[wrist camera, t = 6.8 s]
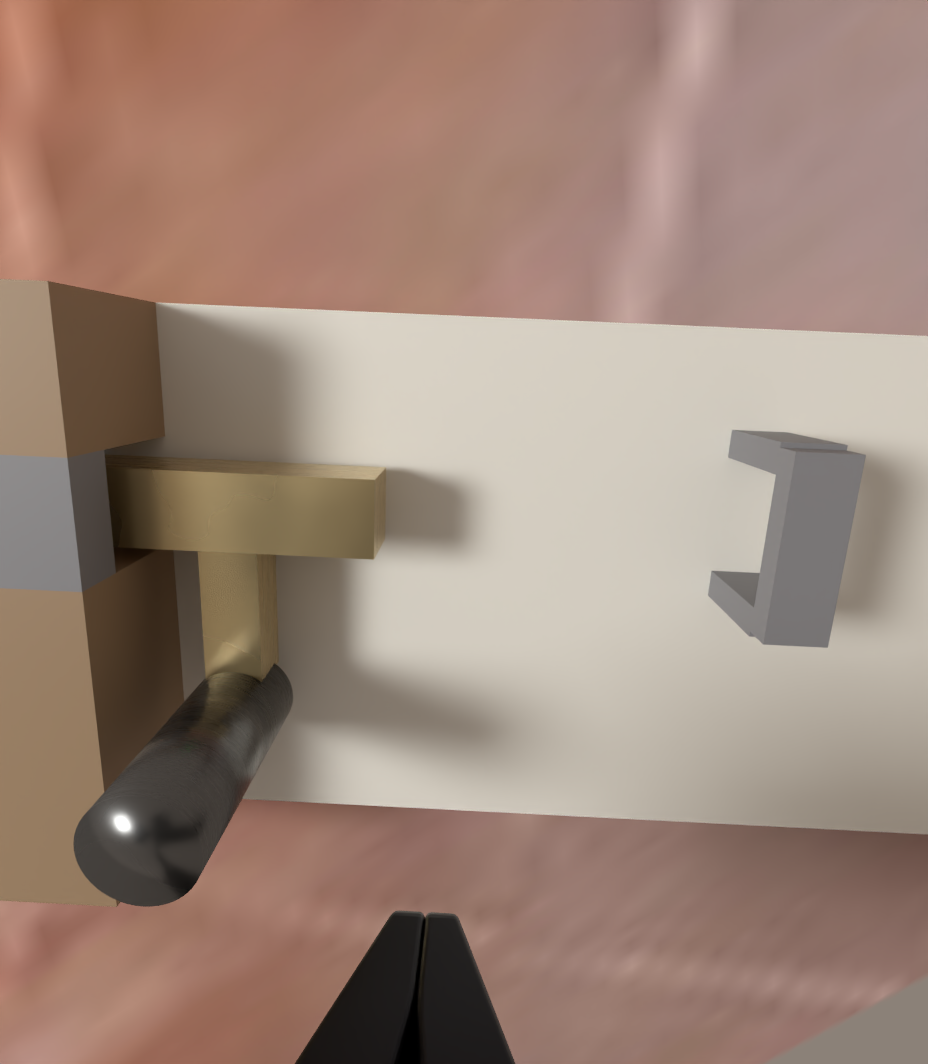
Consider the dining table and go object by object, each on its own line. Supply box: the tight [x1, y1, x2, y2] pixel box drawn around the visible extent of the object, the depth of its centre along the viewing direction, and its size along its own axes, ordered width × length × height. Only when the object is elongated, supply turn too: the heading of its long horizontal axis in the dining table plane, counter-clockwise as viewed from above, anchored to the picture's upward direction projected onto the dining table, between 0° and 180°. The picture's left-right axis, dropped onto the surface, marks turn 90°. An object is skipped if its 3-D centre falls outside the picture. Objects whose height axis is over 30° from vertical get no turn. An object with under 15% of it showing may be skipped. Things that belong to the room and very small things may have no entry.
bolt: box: [73, 454, 386, 906], centre depth 12 cm, size 6×10×6 cm, turn 88°
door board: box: [0, 279, 928, 907], centre depth 14 cm, size 12×24×6 cm, turn 88°
